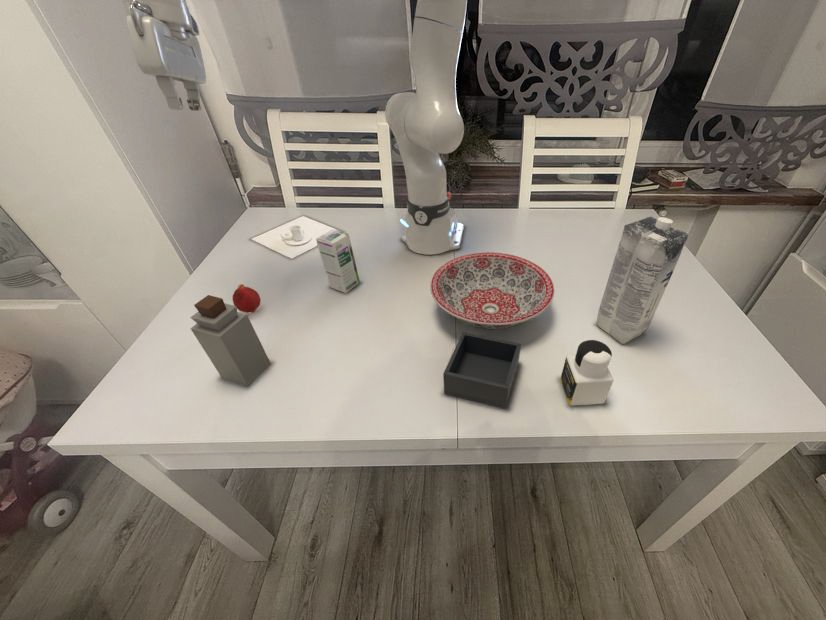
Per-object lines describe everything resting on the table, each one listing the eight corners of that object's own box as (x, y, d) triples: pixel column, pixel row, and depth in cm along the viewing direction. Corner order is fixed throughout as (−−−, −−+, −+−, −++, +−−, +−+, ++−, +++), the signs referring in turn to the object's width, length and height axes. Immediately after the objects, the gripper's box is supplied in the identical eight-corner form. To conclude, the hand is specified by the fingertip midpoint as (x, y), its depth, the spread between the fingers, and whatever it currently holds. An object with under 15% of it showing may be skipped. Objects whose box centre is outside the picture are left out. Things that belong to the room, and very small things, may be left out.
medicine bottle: (559, 379, 81) (571, 336, 73) (593, 377, 81) (608, 334, 73) (569, 406, 76) (582, 363, 67) (604, 404, 76) (622, 361, 68)
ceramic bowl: (534, 364, 84) (539, 337, 78) (411, 332, 91) (408, 305, 85) (559, 290, 103) (564, 264, 98) (457, 269, 111) (456, 243, 105)
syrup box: (346, 293, 102) (333, 243, 92) (329, 287, 104) (314, 237, 94) (360, 283, 105) (349, 233, 95) (343, 277, 107) (331, 227, 97)
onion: (256, 320, 93) (243, 293, 88) (234, 317, 94) (220, 290, 89) (269, 306, 98) (258, 279, 92) (248, 303, 98) (236, 276, 93)
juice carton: (623, 349, 87) (667, 239, 69) (589, 323, 94) (621, 216, 75) (649, 335, 91) (698, 227, 72) (615, 311, 97) (651, 206, 79)
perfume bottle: (270, 363, 83) (237, 295, 71) (248, 386, 79) (208, 317, 66) (245, 356, 85) (208, 287, 72) (221, 378, 80) (177, 308, 68)
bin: (462, 351, 86) (462, 331, 82) (518, 363, 84) (521, 343, 80) (444, 394, 78) (443, 373, 74) (505, 408, 75) (508, 388, 71)
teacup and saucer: (278, 240, 121) (273, 228, 118) (299, 230, 126) (295, 218, 123) (296, 249, 118) (292, 236, 115) (317, 238, 123) (313, 226, 120)
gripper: (151, -3, 56) (184, 109, 63) (200, 25, 74) (222, 111, 81) (101, -7, 55) (140, 108, 62) (162, 23, 72) (188, 110, 79)
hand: (187, 110), depth 72 cm, fingers open, 8 cm apart
